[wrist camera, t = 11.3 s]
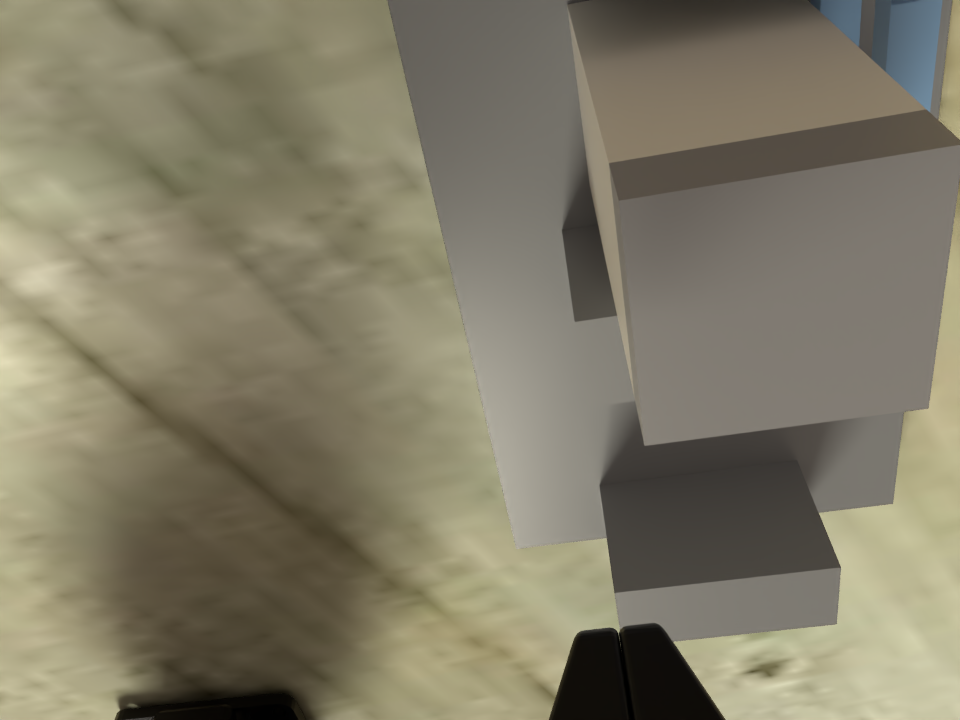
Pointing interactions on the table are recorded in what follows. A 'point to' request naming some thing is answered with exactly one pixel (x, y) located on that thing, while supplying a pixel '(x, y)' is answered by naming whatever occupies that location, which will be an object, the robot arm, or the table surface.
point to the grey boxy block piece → (761, 214)
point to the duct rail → (598, 342)
